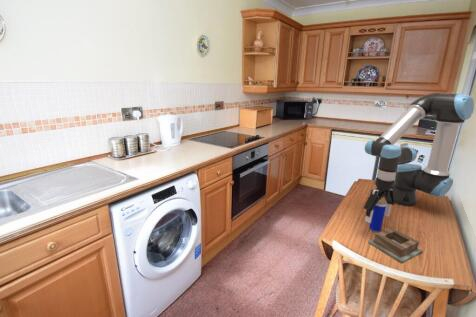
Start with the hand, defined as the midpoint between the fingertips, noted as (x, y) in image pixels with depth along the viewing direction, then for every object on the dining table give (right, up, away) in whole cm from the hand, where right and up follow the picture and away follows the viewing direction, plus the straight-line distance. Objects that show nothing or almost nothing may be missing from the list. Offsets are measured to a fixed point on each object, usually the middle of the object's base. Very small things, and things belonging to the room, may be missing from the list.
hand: (376, 218), depth 122 cm
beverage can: (0, -6, +2) cm, 6 cm away
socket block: (+2, -10, -11) cm, 15 cm away
